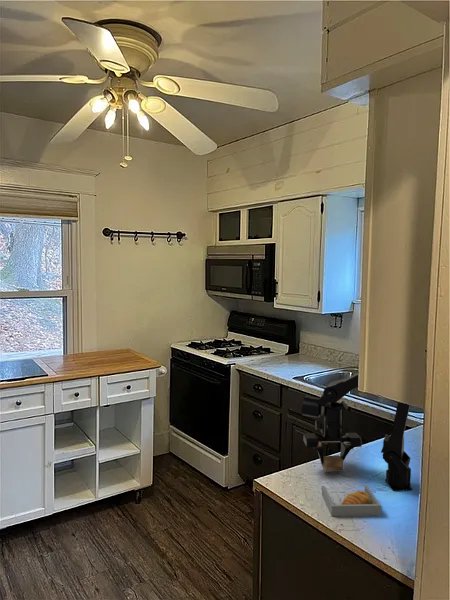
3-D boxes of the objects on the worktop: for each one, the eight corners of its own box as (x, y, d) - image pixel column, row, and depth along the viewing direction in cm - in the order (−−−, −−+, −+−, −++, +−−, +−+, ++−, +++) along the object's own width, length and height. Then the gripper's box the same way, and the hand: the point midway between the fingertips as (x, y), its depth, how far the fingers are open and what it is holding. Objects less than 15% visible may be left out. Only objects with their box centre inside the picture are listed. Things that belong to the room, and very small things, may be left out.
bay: (367, 494, 142) (367, 485, 142) (380, 515, 131) (380, 505, 131) (321, 495, 142) (322, 485, 141) (331, 516, 130) (331, 506, 130)
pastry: (354, 518, 130) (354, 505, 129) (335, 508, 135) (335, 495, 135) (373, 507, 136) (374, 494, 135) (354, 497, 141) (354, 485, 140)
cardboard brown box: (338, 464, 158) (338, 455, 158) (343, 470, 155) (343, 460, 154) (321, 466, 158) (322, 456, 157) (326, 471, 154) (326, 461, 153)
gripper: (352, 411, 164) (351, 453, 165) (300, 411, 163) (299, 453, 165) (363, 422, 152) (361, 467, 154) (307, 423, 152) (306, 468, 154)
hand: (331, 463), depth 157 cm, fingers closed on cardboard brown box, 6 cm apart
